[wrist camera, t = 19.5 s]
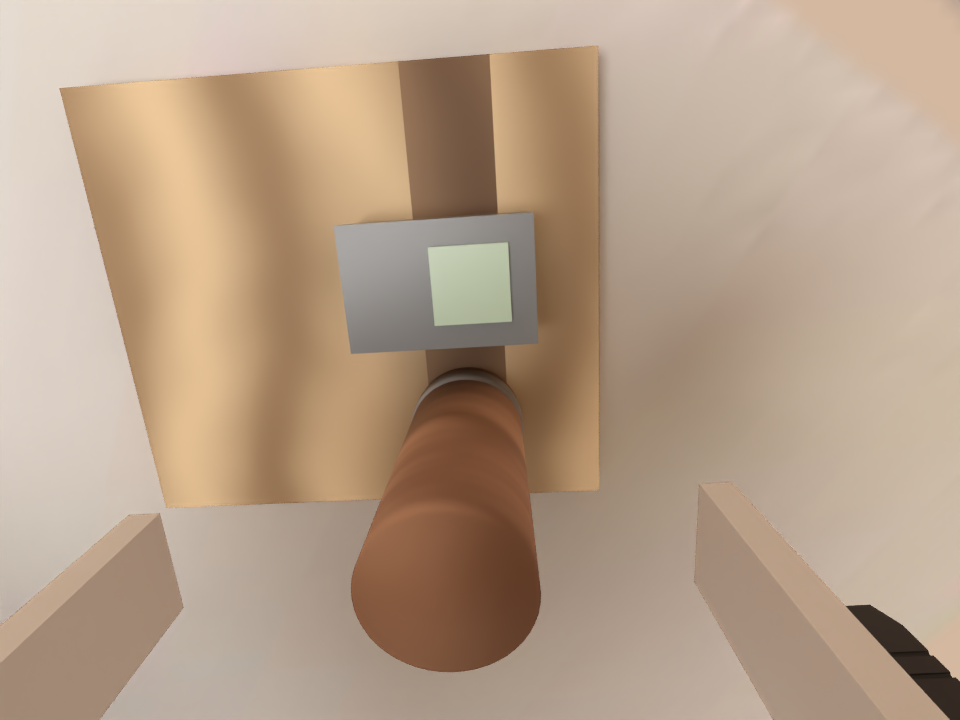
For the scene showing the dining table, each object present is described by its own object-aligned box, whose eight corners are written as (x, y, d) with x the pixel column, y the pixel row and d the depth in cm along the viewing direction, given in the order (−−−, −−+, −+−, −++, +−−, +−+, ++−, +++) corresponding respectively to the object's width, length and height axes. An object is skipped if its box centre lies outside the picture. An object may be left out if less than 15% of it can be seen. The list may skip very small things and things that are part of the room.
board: (182, 492, 24) (166, 507, 22) (85, 95, 19) (59, 88, 18) (594, 475, 23) (599, 490, 22) (592, 55, 18) (598, 45, 17)
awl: (421, 466, 22) (360, 676, 12) (411, 368, 20) (336, 514, 11) (523, 461, 21) (545, 671, 12) (519, 363, 20) (540, 505, 11)
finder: (371, 332, 20) (349, 355, 17) (358, 222, 19) (331, 226, 16) (532, 323, 20) (538, 345, 17) (527, 211, 19) (534, 212, 16)
